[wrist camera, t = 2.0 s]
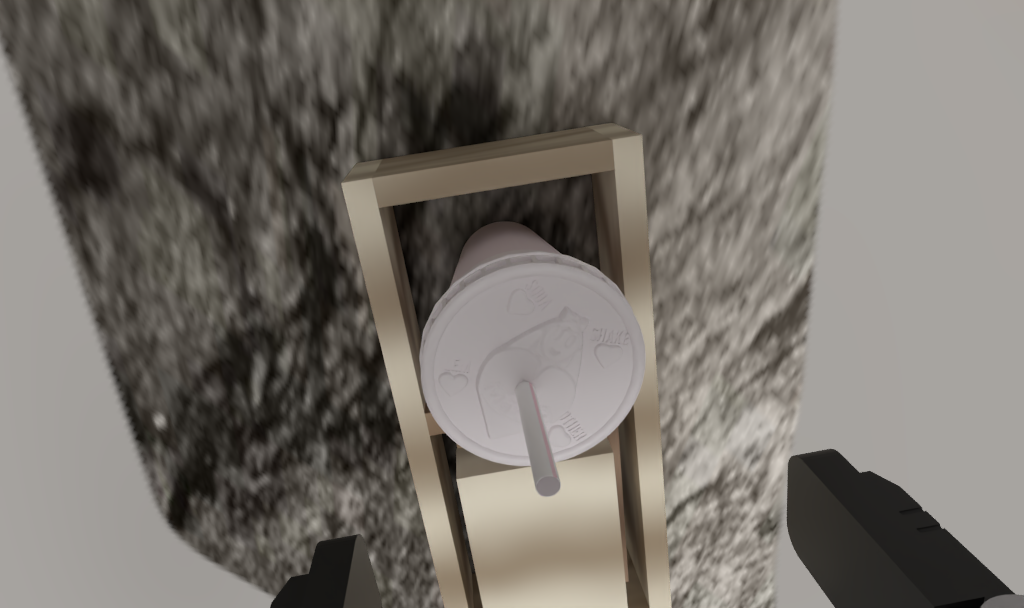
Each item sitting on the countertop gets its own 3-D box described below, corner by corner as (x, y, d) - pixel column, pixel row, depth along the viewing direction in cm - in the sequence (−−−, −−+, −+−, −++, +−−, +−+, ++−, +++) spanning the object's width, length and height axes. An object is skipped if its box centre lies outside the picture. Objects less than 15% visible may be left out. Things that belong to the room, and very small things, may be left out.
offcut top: (455, 448, 26) (456, 479, 24) (601, 424, 26) (613, 452, 24) (486, 597, 29) (488, 634, 27) (616, 573, 29) (628, 609, 27)
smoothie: (397, 289, 26) (354, 516, 13) (479, 156, 25) (520, 270, 12) (525, 359, 28) (596, 619, 15) (610, 239, 27) (769, 418, 14)
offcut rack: (356, 163, 24) (340, 183, 21) (612, 122, 25) (642, 134, 21) (455, 592, 33) (457, 661, 29) (646, 556, 33) (672, 620, 29)
